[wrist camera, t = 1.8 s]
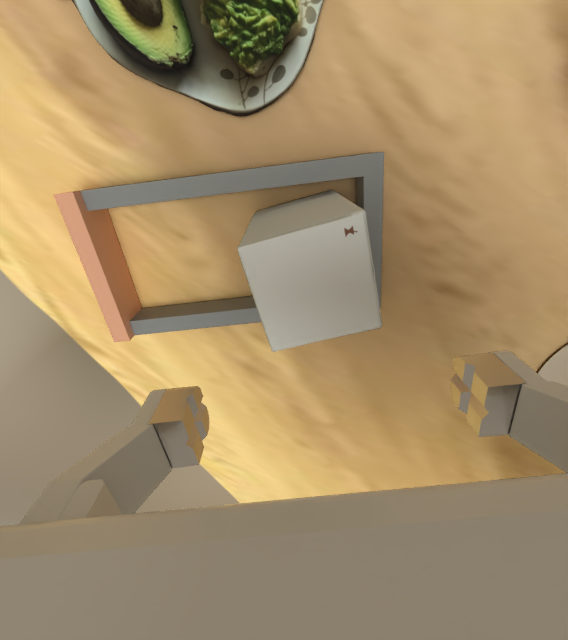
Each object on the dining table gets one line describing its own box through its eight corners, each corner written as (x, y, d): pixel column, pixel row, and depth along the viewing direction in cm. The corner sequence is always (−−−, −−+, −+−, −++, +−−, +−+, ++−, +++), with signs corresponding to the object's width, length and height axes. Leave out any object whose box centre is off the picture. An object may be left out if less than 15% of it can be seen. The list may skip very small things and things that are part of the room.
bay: (373, 152, 26) (387, 151, 23) (372, 297, 32) (383, 314, 28) (83, 190, 28) (53, 194, 24) (132, 322, 33) (114, 342, 30)
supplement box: (252, 210, 28) (232, 242, 17) (334, 187, 28) (370, 206, 16) (274, 285, 32) (269, 355, 20) (348, 267, 31) (386, 329, 19)
